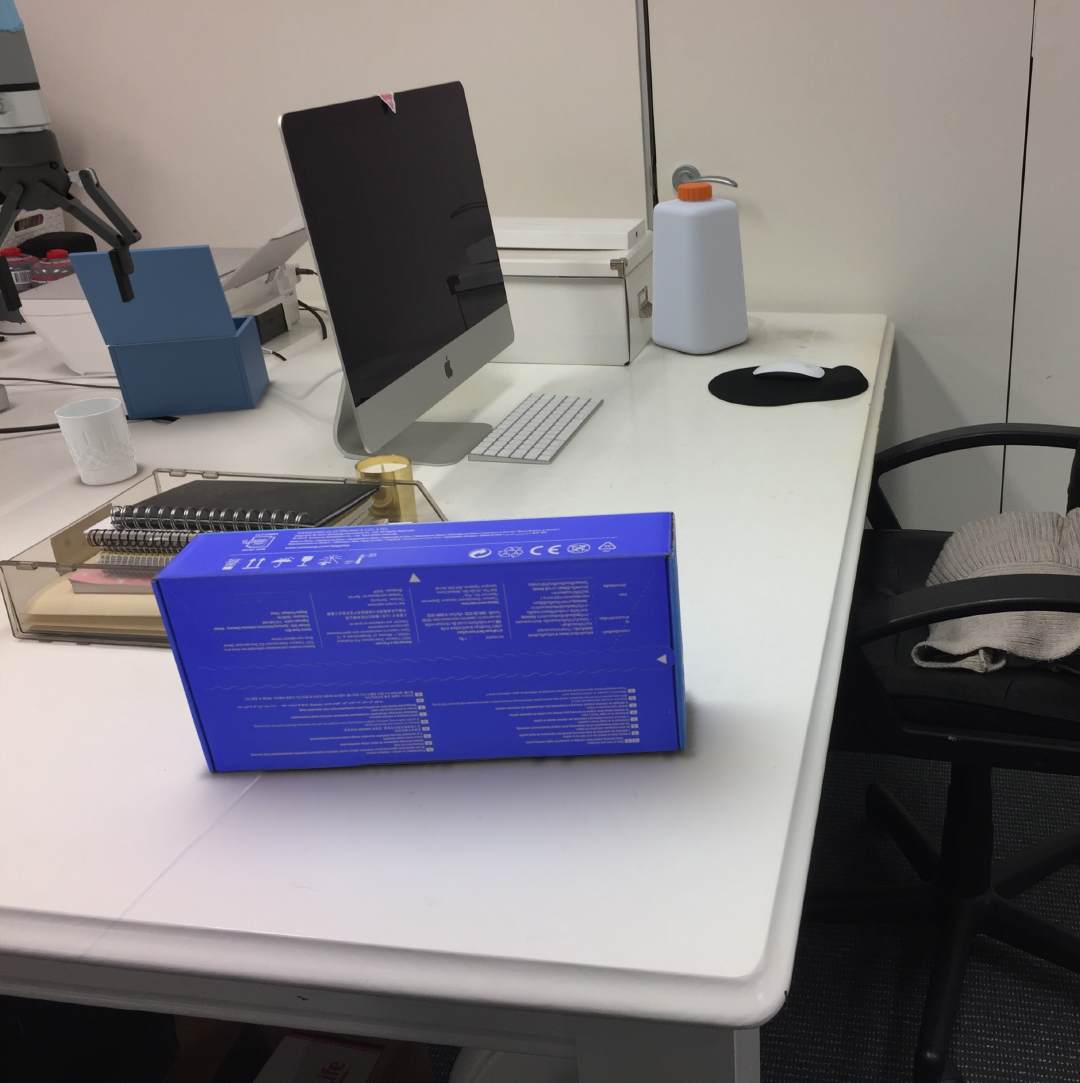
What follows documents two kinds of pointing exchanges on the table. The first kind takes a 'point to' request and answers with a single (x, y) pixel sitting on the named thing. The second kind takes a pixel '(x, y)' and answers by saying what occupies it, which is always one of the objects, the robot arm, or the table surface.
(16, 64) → the robot arm
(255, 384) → the case
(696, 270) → the plastic bottle
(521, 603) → the blue cardboard box
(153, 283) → the case lid
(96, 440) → the white cup
